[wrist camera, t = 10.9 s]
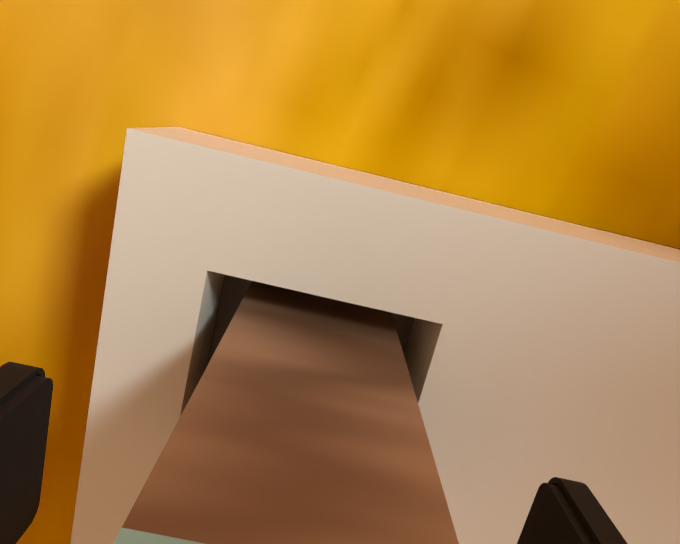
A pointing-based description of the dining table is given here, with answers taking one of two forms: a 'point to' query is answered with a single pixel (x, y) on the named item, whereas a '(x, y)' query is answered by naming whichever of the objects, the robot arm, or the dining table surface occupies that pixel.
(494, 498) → the socket panel
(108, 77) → the dining table surface
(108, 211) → the dining table surface
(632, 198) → the dining table surface
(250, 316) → the plug peg
